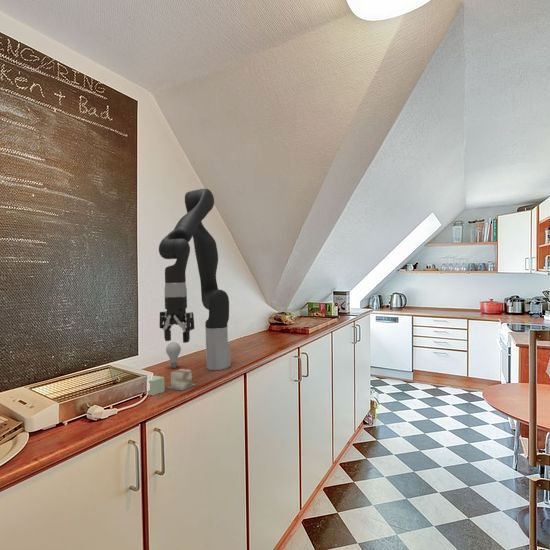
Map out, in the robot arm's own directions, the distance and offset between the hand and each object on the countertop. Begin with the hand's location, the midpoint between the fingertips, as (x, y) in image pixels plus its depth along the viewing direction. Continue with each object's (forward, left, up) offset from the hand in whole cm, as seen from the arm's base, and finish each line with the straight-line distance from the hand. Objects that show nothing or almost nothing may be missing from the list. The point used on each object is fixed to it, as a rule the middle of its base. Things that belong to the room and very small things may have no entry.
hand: (176, 341), depth 124 cm
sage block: (+8, -1, -16) cm, 18 cm away
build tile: (-1, 0, -16) cm, 16 cm away
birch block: (-1, 0, -16) cm, 16 cm away
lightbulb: (-9, -27, -16) cm, 33 cm away
